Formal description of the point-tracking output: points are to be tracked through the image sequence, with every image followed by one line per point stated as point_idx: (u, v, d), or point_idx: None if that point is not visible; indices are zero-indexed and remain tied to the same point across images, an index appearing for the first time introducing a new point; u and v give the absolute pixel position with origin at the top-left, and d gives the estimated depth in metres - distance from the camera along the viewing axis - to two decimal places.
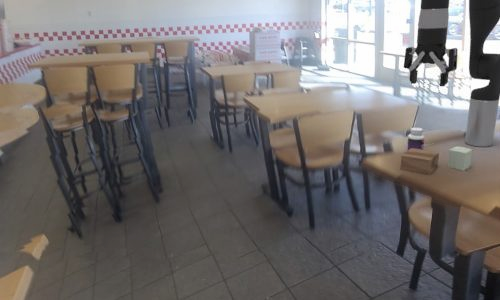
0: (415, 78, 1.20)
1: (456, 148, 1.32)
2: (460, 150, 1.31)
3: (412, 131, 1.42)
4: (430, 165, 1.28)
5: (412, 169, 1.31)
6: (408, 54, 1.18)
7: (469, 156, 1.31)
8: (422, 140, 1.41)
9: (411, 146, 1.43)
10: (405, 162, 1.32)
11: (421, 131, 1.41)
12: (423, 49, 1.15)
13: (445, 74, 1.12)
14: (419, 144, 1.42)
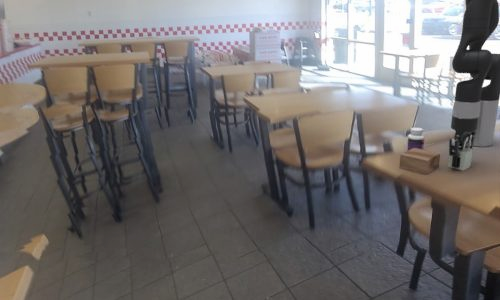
0: None
1: None
2: None
3: (412, 131, 1.42)
4: (428, 165, 1.28)
5: (410, 169, 1.32)
6: (458, 145, 1.26)
7: (469, 156, 1.31)
8: (422, 140, 1.41)
9: (411, 146, 1.43)
10: (404, 162, 1.33)
11: (421, 131, 1.41)
12: (464, 135, 1.28)
13: None
14: (419, 144, 1.42)
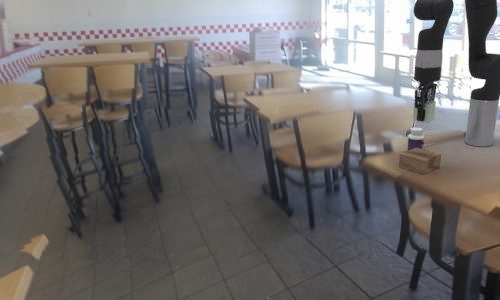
0: None
1: None
2: None
3: (412, 131, 1.42)
4: (425, 165, 1.28)
5: (409, 168, 1.32)
6: None
7: (433, 109, 1.27)
8: (422, 140, 1.41)
9: (411, 146, 1.43)
10: (403, 161, 1.34)
11: (421, 131, 1.41)
12: (428, 86, 1.24)
13: None
14: (419, 144, 1.42)
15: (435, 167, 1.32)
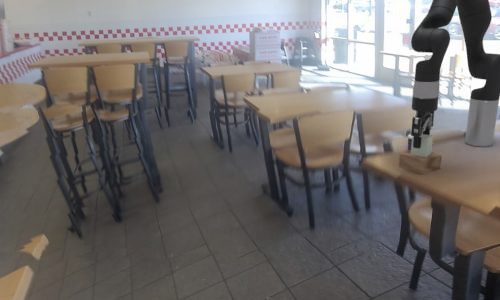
0: None
1: None
2: (422, 136, 1.31)
3: None
4: (423, 166, 1.28)
5: (408, 168, 1.33)
6: (420, 123, 1.24)
7: (430, 143, 1.31)
8: None
9: None
10: (402, 160, 1.34)
11: None
12: (425, 115, 1.27)
13: None
14: None
15: (435, 168, 1.31)
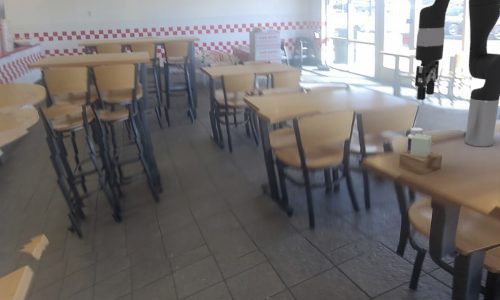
0: None
1: (417, 136, 1.32)
2: (421, 137, 1.30)
3: (412, 131, 1.42)
4: (423, 166, 1.28)
5: (408, 168, 1.33)
6: (425, 72, 1.19)
7: (430, 143, 1.31)
8: None
9: None
10: (403, 161, 1.34)
11: (421, 131, 1.41)
12: (430, 65, 1.22)
13: (433, 83, 1.29)
14: None
15: (435, 168, 1.31)
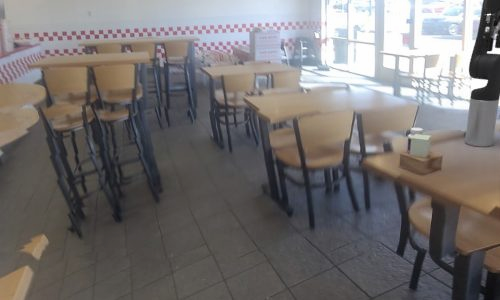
0: None
1: (416, 136, 1.32)
2: (421, 137, 1.30)
3: (412, 131, 1.42)
4: (424, 166, 1.28)
5: (408, 168, 1.32)
6: (493, 21, 1.13)
7: (429, 143, 1.31)
8: None
9: None
10: (403, 161, 1.34)
11: (421, 131, 1.41)
12: None
13: None
14: None
15: (435, 168, 1.31)
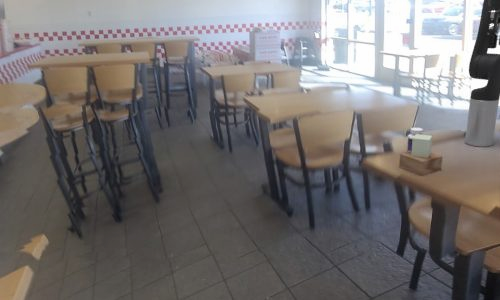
0: None
1: (417, 136, 1.31)
2: (422, 137, 1.30)
3: (412, 131, 1.42)
4: (423, 167, 1.28)
5: (408, 169, 1.32)
6: (497, 17, 1.13)
7: (430, 143, 1.31)
8: None
9: (411, 146, 1.43)
10: (403, 161, 1.34)
11: (421, 131, 1.41)
12: None
13: None
14: None
15: (435, 169, 1.31)
